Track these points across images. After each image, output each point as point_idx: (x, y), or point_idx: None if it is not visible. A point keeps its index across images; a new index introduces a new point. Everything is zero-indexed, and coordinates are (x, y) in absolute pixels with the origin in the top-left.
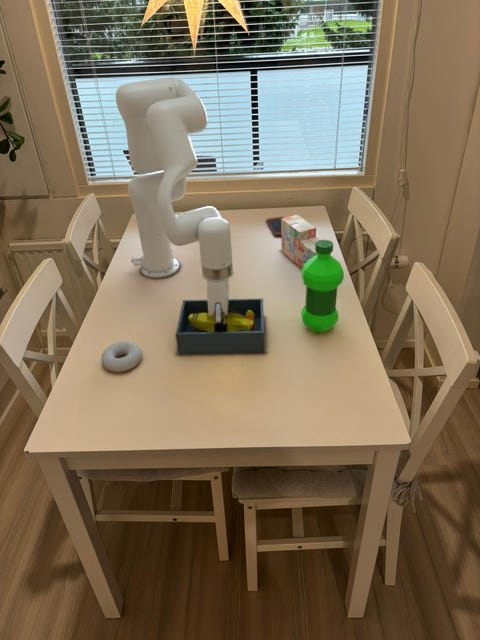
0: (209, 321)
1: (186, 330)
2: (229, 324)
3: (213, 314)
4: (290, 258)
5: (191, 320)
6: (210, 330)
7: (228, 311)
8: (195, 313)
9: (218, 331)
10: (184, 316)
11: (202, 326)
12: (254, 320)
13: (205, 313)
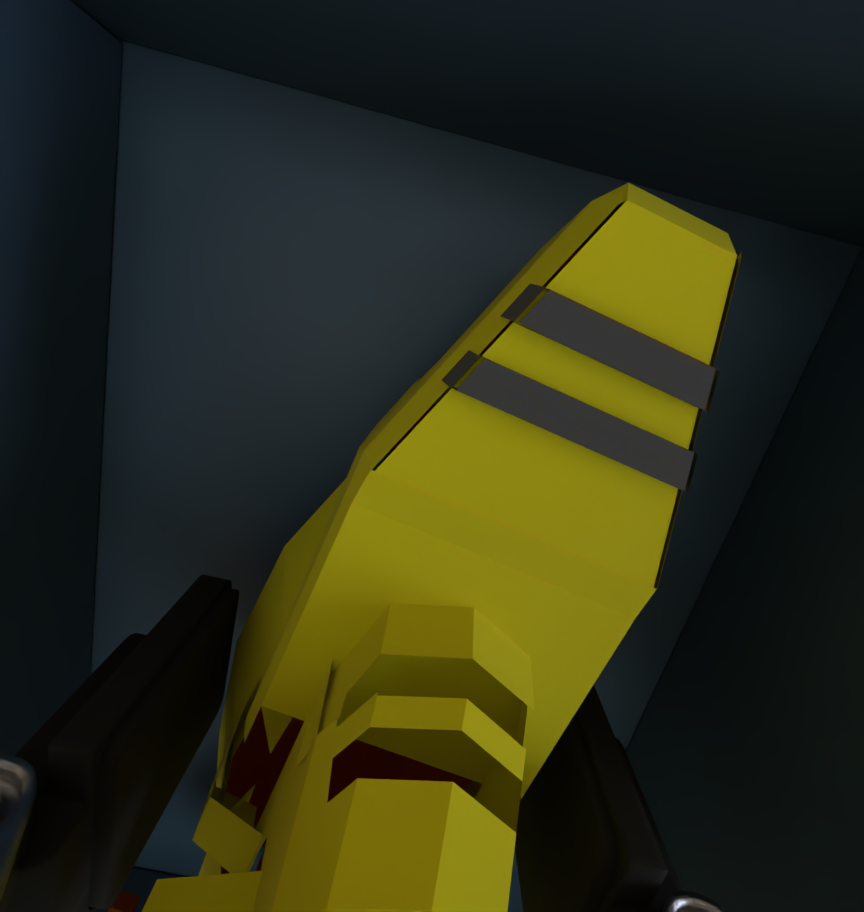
0: (317, 630)
1: (592, 192)
2: (204, 867)
3: (275, 868)
4: None
5: (534, 263)
6: (302, 542)
7: (680, 807)
8: (695, 399)
9: (93, 684)
10: (810, 122)
11: (359, 453)
12: (511, 895)
13: (624, 604)
